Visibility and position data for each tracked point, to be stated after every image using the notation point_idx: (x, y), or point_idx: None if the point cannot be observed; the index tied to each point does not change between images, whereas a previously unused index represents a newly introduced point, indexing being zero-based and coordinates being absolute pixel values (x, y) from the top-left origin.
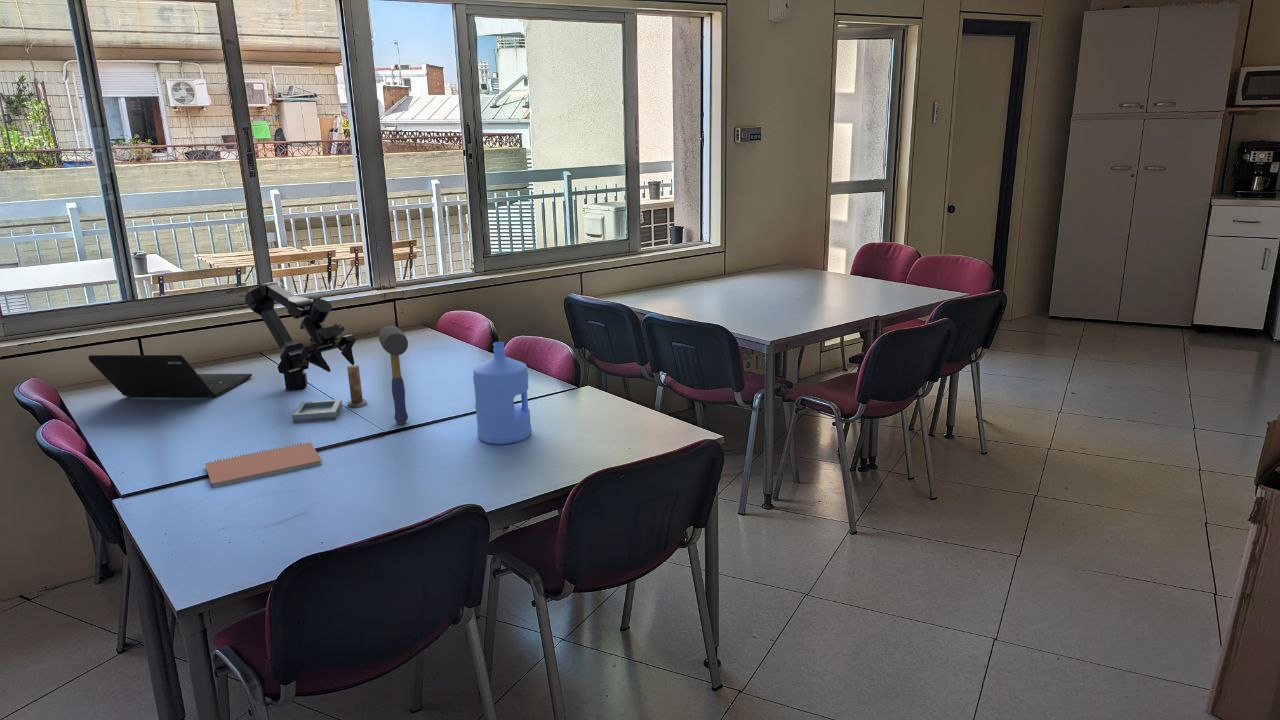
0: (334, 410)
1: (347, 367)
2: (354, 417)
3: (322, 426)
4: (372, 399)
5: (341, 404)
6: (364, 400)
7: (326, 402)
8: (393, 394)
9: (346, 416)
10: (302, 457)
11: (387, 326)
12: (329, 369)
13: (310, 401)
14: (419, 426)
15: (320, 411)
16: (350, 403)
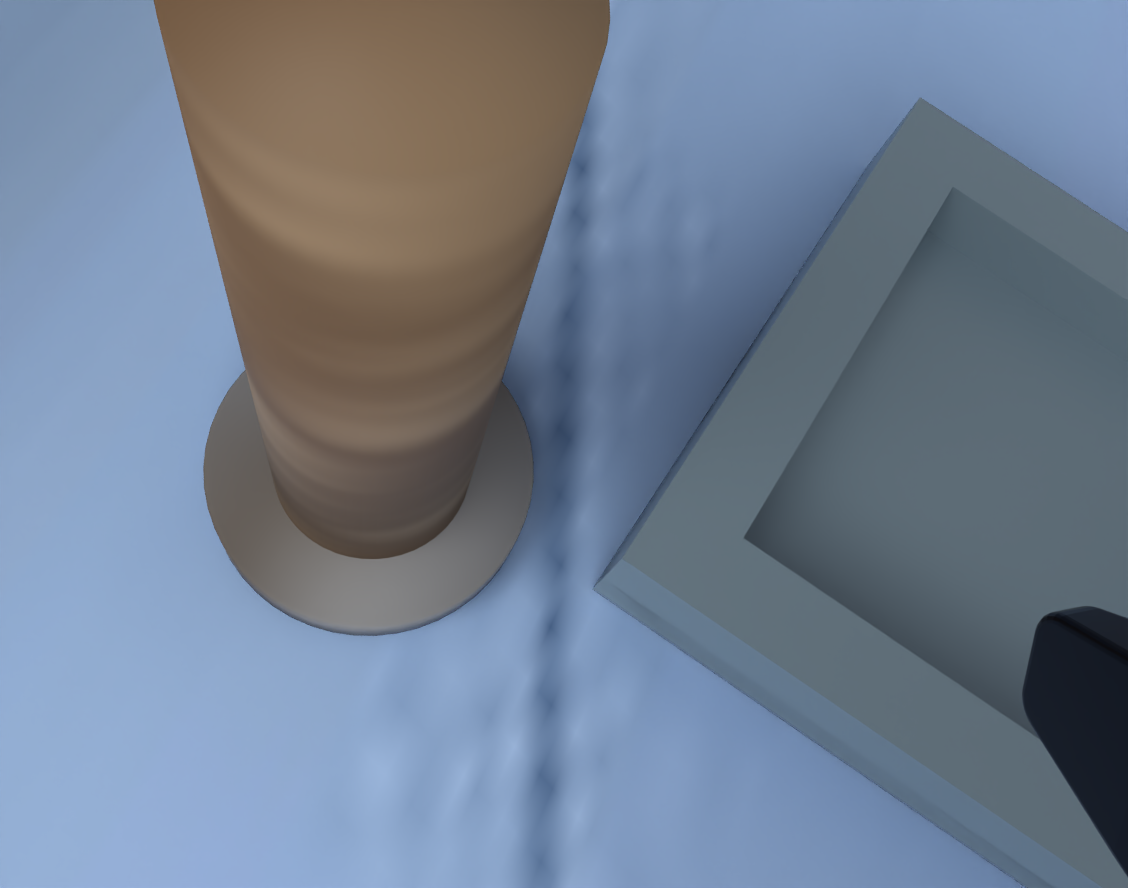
0: (906, 146)
1: (592, 61)
2: (662, 58)
3: (1057, 89)
4: (29, 544)
5: (629, 537)
6: (246, 432)
7: (869, 630)
8: None
9: (723, 161)
10: None
11: None
12: (1106, 617)
13: (1097, 876)
14: None
15: (1073, 260)
16: (497, 470)
